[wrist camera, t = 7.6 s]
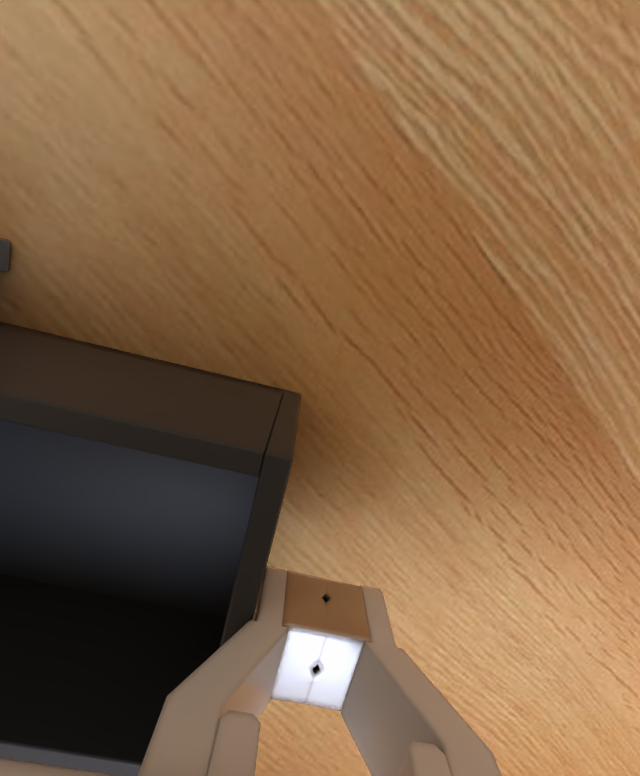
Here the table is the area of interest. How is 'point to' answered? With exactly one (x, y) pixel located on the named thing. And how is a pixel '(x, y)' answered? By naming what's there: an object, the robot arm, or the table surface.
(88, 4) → the table surface
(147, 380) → the basket
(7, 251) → the cubby shelf
